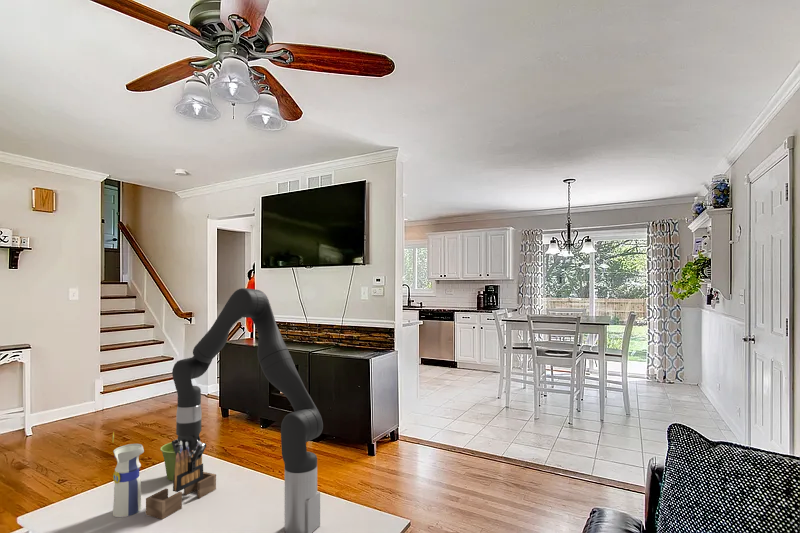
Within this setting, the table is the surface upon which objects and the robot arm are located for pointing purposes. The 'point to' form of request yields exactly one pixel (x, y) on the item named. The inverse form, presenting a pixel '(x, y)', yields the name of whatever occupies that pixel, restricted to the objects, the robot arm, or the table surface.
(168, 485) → the table surface
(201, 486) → the end cap
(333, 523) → the table surface
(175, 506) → the end cap
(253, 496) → the table surface
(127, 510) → the water bottle
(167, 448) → the plant pot
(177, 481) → the ammunition clip
